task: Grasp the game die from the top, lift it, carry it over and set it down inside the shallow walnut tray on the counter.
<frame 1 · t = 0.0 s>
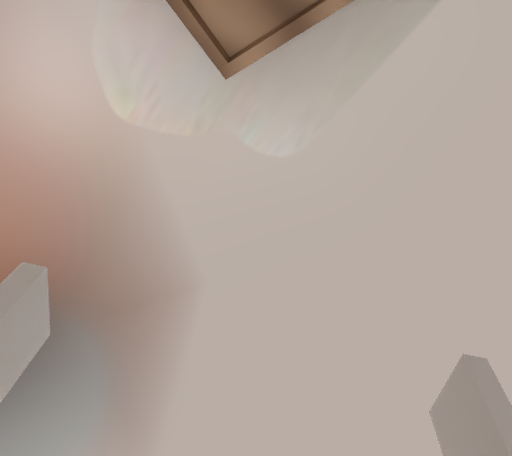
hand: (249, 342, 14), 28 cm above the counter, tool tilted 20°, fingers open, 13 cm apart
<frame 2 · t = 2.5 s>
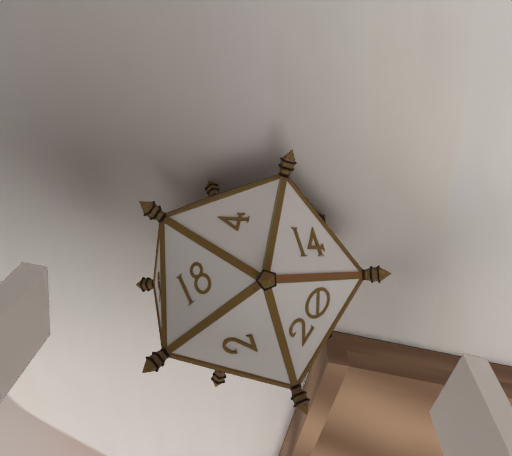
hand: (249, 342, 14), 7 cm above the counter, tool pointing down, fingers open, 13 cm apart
game die: (257, 225, 20), on the counter
walnut tray: (413, 446, 26), on the counter
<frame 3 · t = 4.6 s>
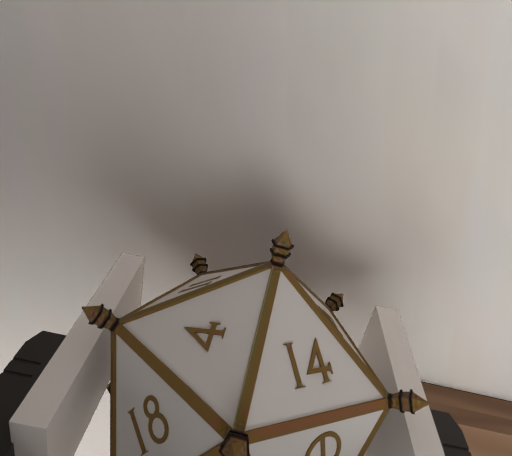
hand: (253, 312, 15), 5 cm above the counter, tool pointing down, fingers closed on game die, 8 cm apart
game die: (260, 304, 16), point 4 cm above the counter, touching gripper
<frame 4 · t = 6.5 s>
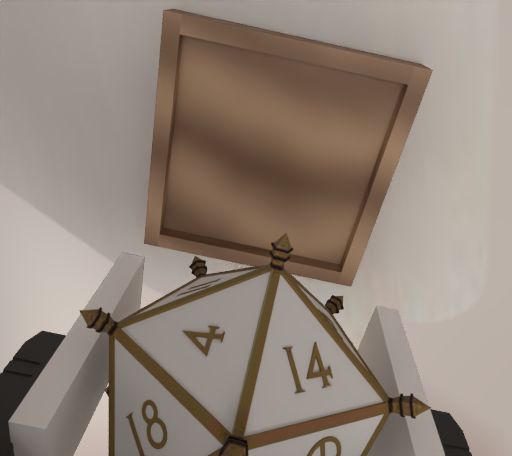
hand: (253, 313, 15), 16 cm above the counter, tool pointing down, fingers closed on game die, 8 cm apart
game die: (259, 306, 16), point 15 cm above the counter, touching gripper
walnut tray: (271, 156, 29), on the counter
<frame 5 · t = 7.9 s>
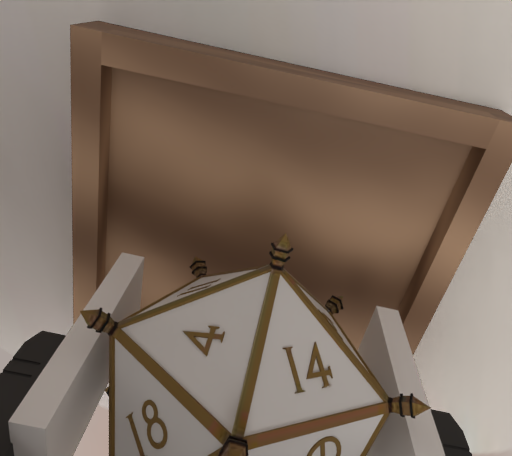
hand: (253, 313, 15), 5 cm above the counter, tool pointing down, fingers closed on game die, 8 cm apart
game die: (259, 306, 16), point 4 cm above the counter, touching gripper
walnut tray: (261, 240, 19), on the counter
when the fingers open (2 cm above the counter, at t = 8.8 s): game die stays where it is, resting on walnut tray.
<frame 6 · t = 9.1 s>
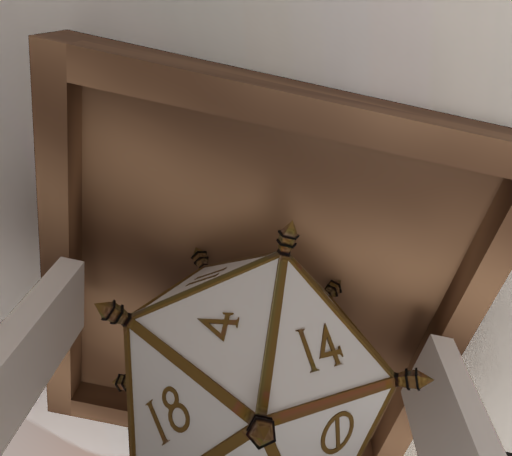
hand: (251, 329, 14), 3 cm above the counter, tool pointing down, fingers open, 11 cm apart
game die: (259, 293, 16), point 1 cm above the counter, touching walnut tray
walnut tray: (258, 276, 17), on the counter
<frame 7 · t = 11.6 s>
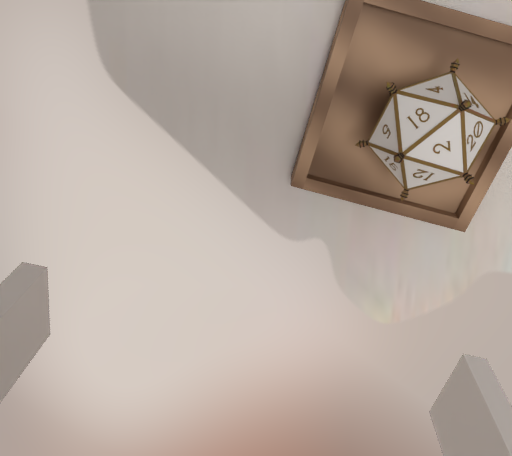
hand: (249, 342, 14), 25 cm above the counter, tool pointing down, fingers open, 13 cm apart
game die: (413, 118, 33), point 1 cm above the counter, touching walnut tray
walnut tray: (409, 114, 34), on the counter
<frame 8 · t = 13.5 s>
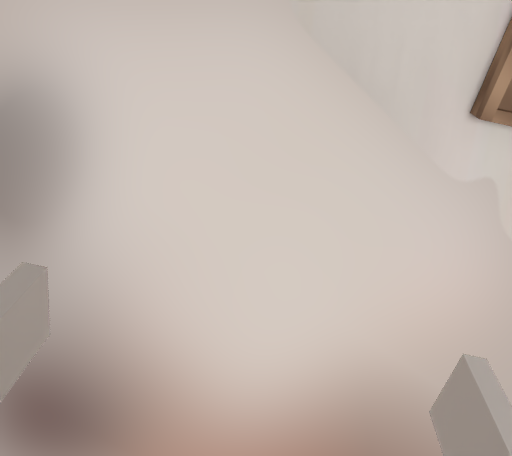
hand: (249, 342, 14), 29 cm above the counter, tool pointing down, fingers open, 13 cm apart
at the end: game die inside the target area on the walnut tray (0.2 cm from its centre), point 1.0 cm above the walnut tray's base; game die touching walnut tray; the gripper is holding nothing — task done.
